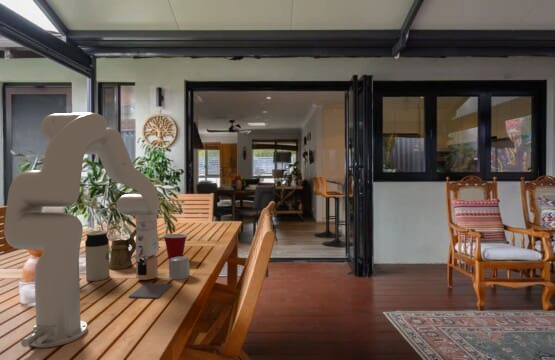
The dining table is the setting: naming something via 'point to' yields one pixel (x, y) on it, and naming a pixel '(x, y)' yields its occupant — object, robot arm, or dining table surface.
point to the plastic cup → (175, 244)
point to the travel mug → (97, 255)
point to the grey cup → (179, 267)
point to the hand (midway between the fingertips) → (147, 271)
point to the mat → (150, 291)
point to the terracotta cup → (149, 268)
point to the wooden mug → (122, 252)
